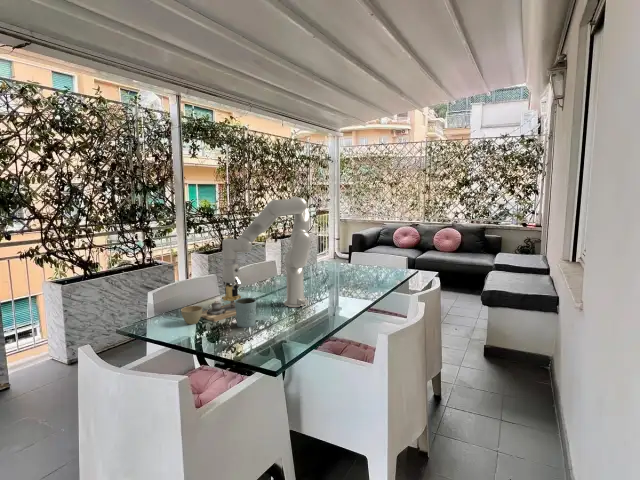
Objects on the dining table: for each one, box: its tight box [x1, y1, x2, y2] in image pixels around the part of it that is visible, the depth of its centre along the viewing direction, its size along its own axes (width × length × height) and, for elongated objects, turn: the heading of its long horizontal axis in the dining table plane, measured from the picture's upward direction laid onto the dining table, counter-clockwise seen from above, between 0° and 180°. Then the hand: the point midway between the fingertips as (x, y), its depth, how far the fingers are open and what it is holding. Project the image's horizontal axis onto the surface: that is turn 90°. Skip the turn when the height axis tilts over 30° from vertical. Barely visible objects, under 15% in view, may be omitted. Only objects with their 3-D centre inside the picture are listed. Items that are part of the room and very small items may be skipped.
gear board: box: [200, 300, 236, 322], centre depth 202 cm, size 15×25×7 cm, turn 140°
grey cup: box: [234, 297, 257, 329], centre depth 183 cm, size 10×10×12 cm
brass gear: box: [221, 284, 242, 302], centre depth 204 cm, size 10×10×7 cm
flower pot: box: [180, 305, 203, 325], centre depth 187 cm, size 10×10×7 cm
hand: (231, 294), depth 204 cm, fingers closed on brass gear, 5 cm apart
